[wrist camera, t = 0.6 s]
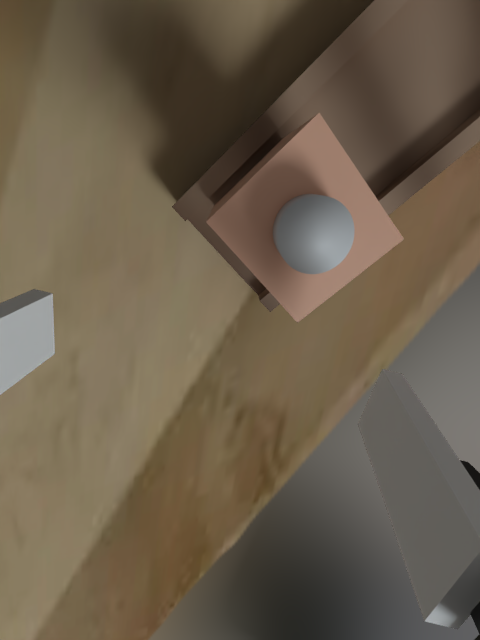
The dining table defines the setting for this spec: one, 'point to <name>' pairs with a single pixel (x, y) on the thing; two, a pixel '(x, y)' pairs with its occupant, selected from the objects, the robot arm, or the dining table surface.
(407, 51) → the track
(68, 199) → the dining table surface
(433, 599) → the robot arm
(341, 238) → the block
